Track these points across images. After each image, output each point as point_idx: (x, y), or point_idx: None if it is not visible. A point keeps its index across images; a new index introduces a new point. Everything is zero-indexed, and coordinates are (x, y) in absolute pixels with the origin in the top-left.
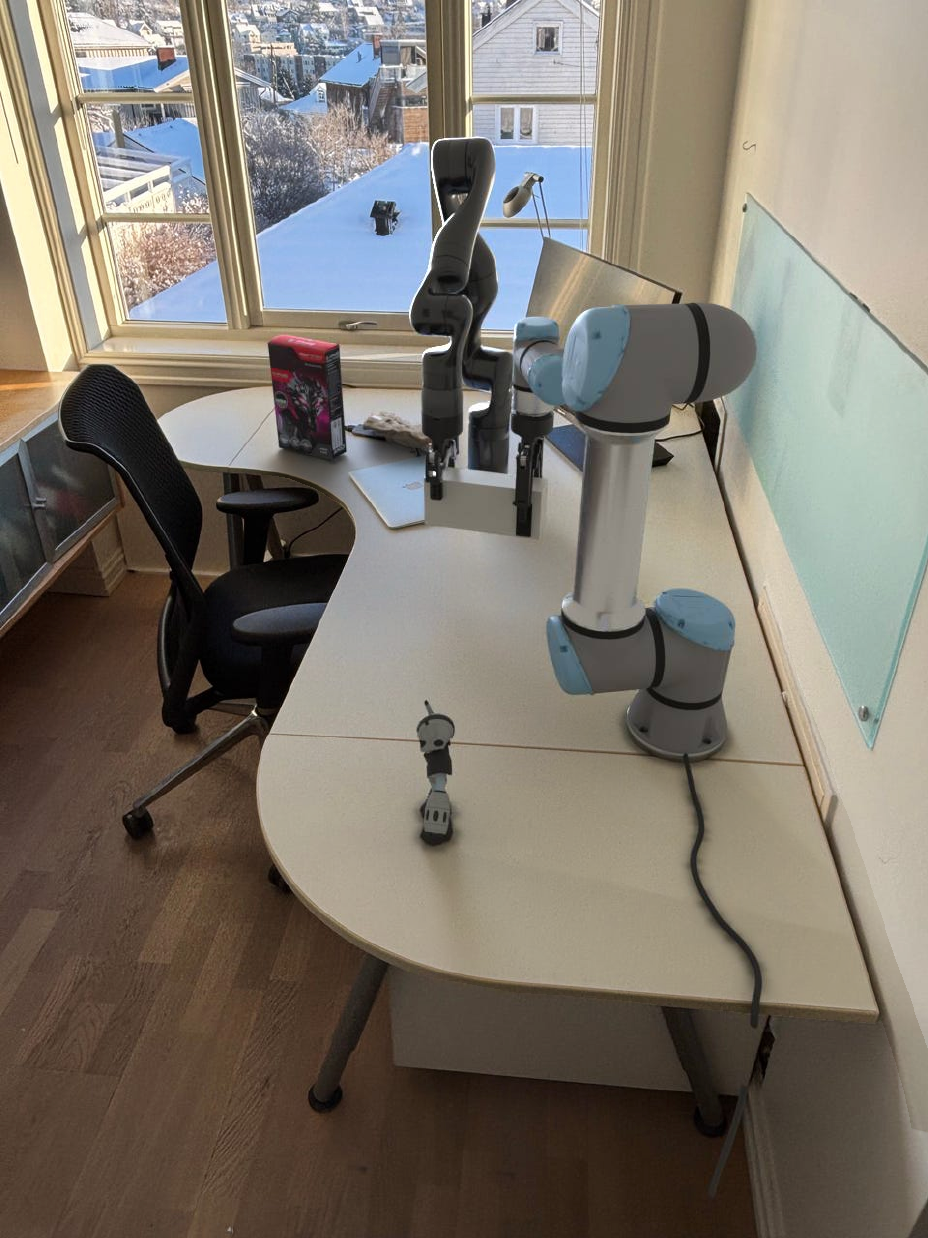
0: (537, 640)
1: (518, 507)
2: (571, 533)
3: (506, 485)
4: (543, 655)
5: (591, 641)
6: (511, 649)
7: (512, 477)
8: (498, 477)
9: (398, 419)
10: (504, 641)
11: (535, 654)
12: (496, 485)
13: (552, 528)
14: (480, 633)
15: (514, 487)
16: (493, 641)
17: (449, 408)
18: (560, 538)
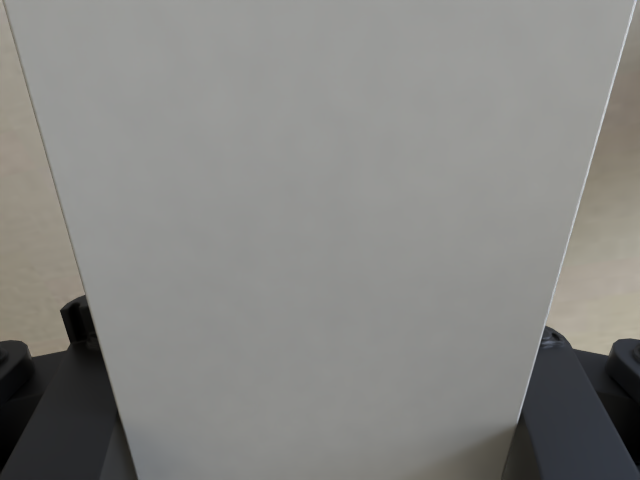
0: (71, 266)
1: None
2: (602, 258)
3: (149, 260)
4: (26, 288)
5: None
6: (5, 220)
7: (451, 281)
8: (415, 53)
9: None
10: (24, 197)
11: (19, 272)
12: (71, 103)
13: (636, 203)
14: (21, 129)
15: (138, 365)
16: (8, 171)
17: None
18: (571, 235)
